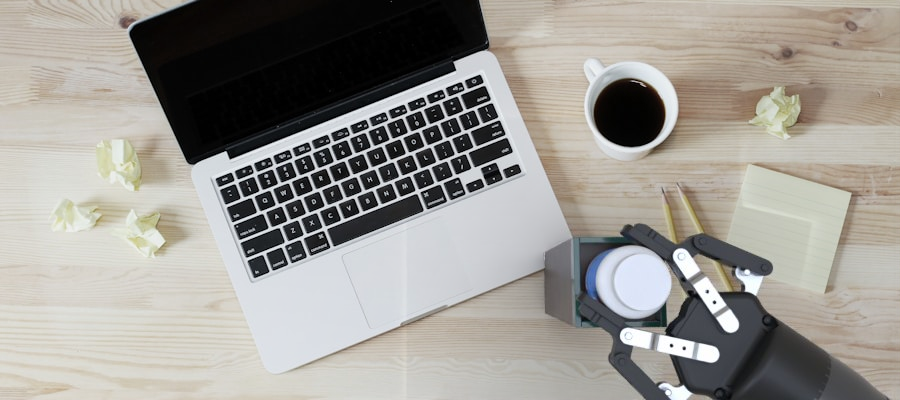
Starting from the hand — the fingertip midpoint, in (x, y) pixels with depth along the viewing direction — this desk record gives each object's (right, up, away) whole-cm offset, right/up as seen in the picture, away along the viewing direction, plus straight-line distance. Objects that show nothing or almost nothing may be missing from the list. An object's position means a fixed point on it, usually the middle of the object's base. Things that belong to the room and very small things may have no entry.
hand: (601, 262), depth 55 cm
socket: (+2, -2, +6) cm, 6 cm away
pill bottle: (+2, -2, +6) cm, 7 cm away
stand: (+3, -5, +33) cm, 33 cm away
